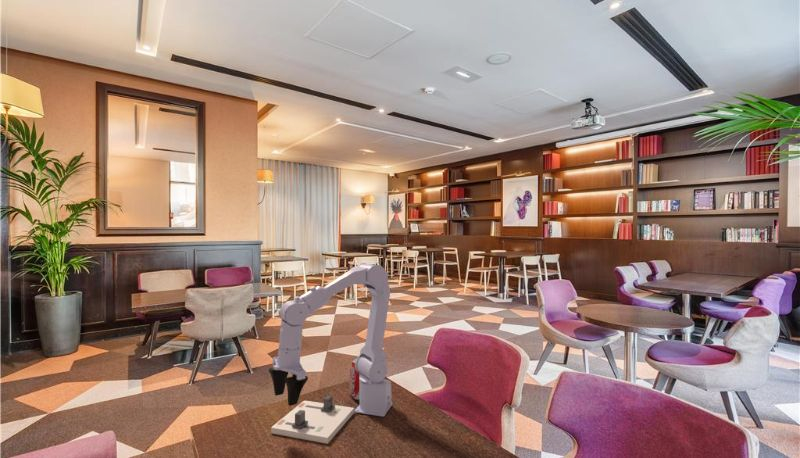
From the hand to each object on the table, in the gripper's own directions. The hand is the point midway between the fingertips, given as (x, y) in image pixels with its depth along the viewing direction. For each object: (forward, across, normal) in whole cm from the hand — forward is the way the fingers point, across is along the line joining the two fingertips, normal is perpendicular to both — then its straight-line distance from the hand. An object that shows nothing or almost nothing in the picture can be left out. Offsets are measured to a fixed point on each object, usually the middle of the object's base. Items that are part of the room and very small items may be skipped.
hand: (285, 399), depth 92 cm
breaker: (+7, -1, +15) cm, 16 cm away
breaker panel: (+9, 0, +10) cm, 13 cm away
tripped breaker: (+8, +1, +5) cm, 9 cm away
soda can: (+8, -4, +29) cm, 30 cm away
